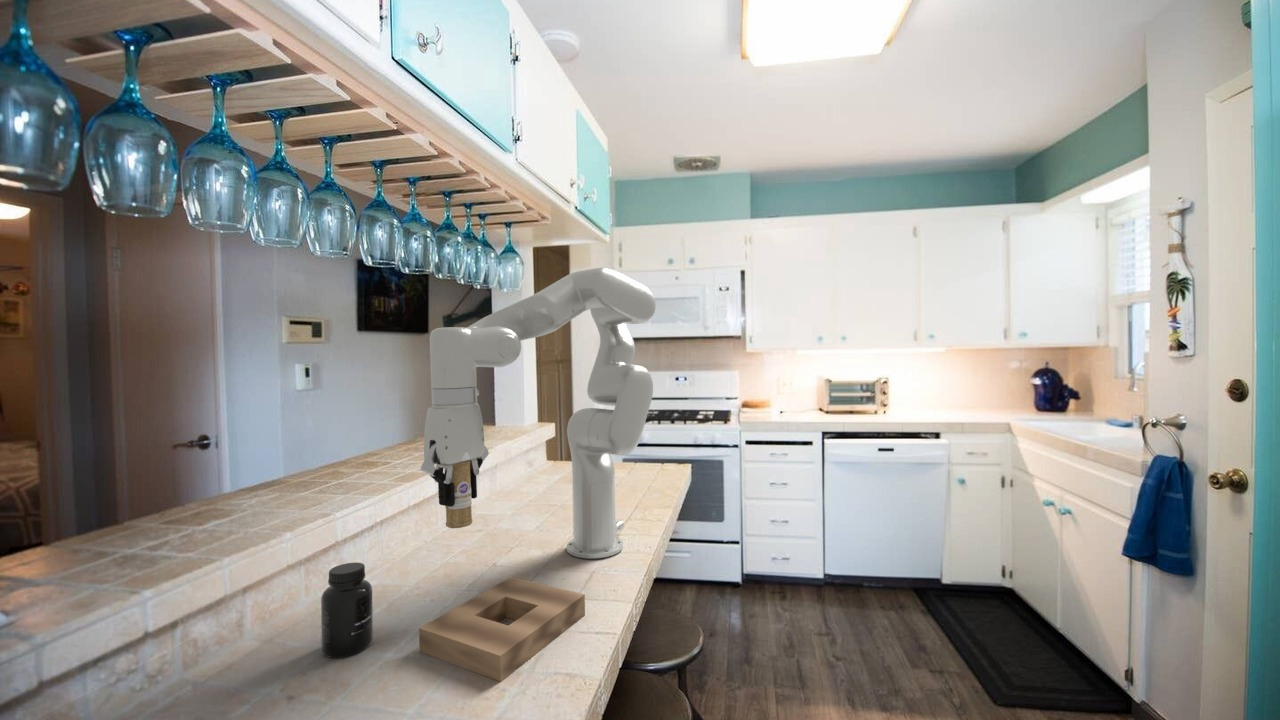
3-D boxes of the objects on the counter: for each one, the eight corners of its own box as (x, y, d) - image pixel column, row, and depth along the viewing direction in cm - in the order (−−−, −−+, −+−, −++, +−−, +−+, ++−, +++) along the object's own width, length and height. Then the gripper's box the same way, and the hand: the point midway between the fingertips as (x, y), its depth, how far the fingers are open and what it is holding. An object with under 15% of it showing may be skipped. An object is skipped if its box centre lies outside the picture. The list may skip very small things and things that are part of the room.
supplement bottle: (368, 654, 77) (366, 574, 77) (315, 663, 75) (313, 580, 75) (377, 631, 84) (375, 557, 84) (329, 638, 82) (327, 562, 82)
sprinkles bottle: (458, 530, 89) (455, 452, 89) (439, 526, 92) (437, 450, 91) (478, 522, 93) (475, 447, 93) (460, 519, 96) (457, 445, 95)
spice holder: (512, 595, 96) (511, 576, 96) (585, 615, 88) (584, 594, 88) (419, 651, 78) (419, 628, 78) (500, 681, 70) (500, 655, 70)
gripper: (475, 393, 101) (478, 487, 102) (398, 402, 86) (402, 512, 87) (504, 393, 98) (507, 491, 98) (429, 403, 83) (434, 518, 83)
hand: (458, 500), depth 92 cm, fingers closed on sprinkles bottle, 4 cm apart
